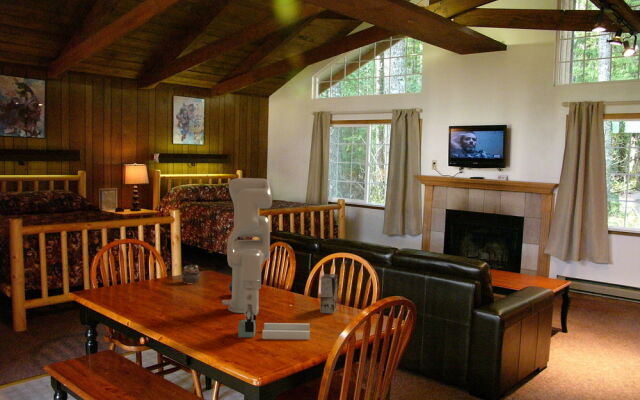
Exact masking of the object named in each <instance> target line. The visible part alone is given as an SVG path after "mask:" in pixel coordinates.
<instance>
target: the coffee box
mask: <svg viewBox="0 0 640 400" xmlns="http://www.w3.org/2000/svg"><path fill="white" fill-rule="evenodd" d="M338 277H339V274H336V273H329V274H328V273H323V275H321V277H320V301H319V303H320V304H319V307H320V308H319V309H320V310H319V313H322V314H333V315H334V313H335V312H336V310H337V309H338Z"/></svg>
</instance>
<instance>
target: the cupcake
mask: <svg viewBox="0 0 640 400" xmlns="http://www.w3.org/2000/svg"><path fill="white" fill-rule="evenodd" d="M183 268H184V269H183V270H182V273H181V277H182V282H185V283H196V282H198V283H199V279H200V269H199V266H198V265H197V264H191V263H190V264H186V265H185V266H184V267H183Z"/></svg>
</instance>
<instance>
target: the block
mask: <svg viewBox="0 0 640 400" xmlns="http://www.w3.org/2000/svg"><path fill="white" fill-rule="evenodd" d="M245 321H246V319H239V322H238V326H237V327H238V328H237V330H238V335H237V337H238V338H255V335H256V324H255V320H253V321H254V331H253V332H245Z"/></svg>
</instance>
